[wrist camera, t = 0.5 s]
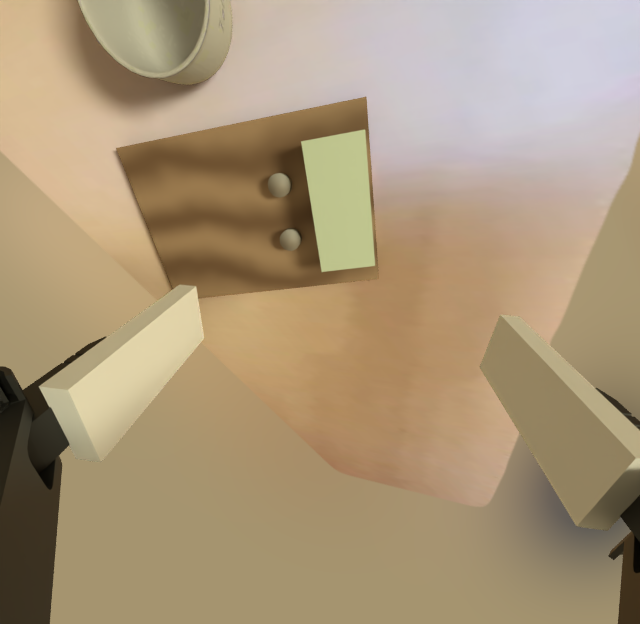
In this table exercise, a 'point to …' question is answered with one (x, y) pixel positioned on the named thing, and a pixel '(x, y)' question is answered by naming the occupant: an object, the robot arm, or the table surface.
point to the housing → (340, 200)
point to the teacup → (163, 36)
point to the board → (241, 202)
